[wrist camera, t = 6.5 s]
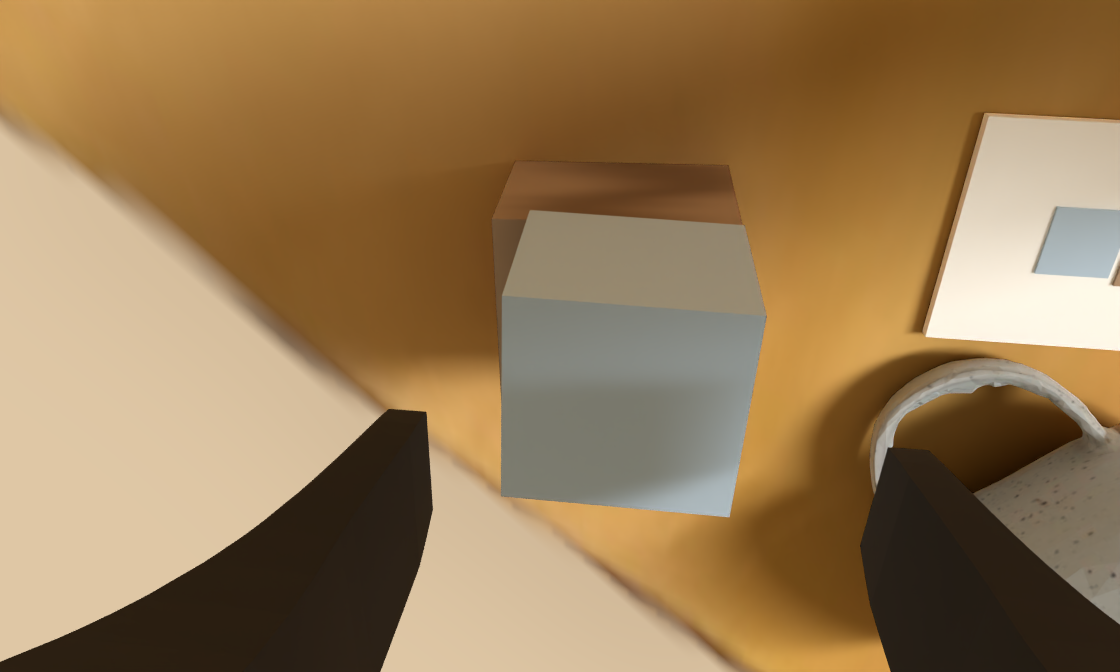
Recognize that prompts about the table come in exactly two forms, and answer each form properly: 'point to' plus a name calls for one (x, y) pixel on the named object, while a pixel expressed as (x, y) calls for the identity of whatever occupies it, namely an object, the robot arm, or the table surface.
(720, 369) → the blue brick
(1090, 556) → the ceramic mug
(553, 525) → the table surface
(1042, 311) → the page
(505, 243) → the base brick
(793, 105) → the table surface
